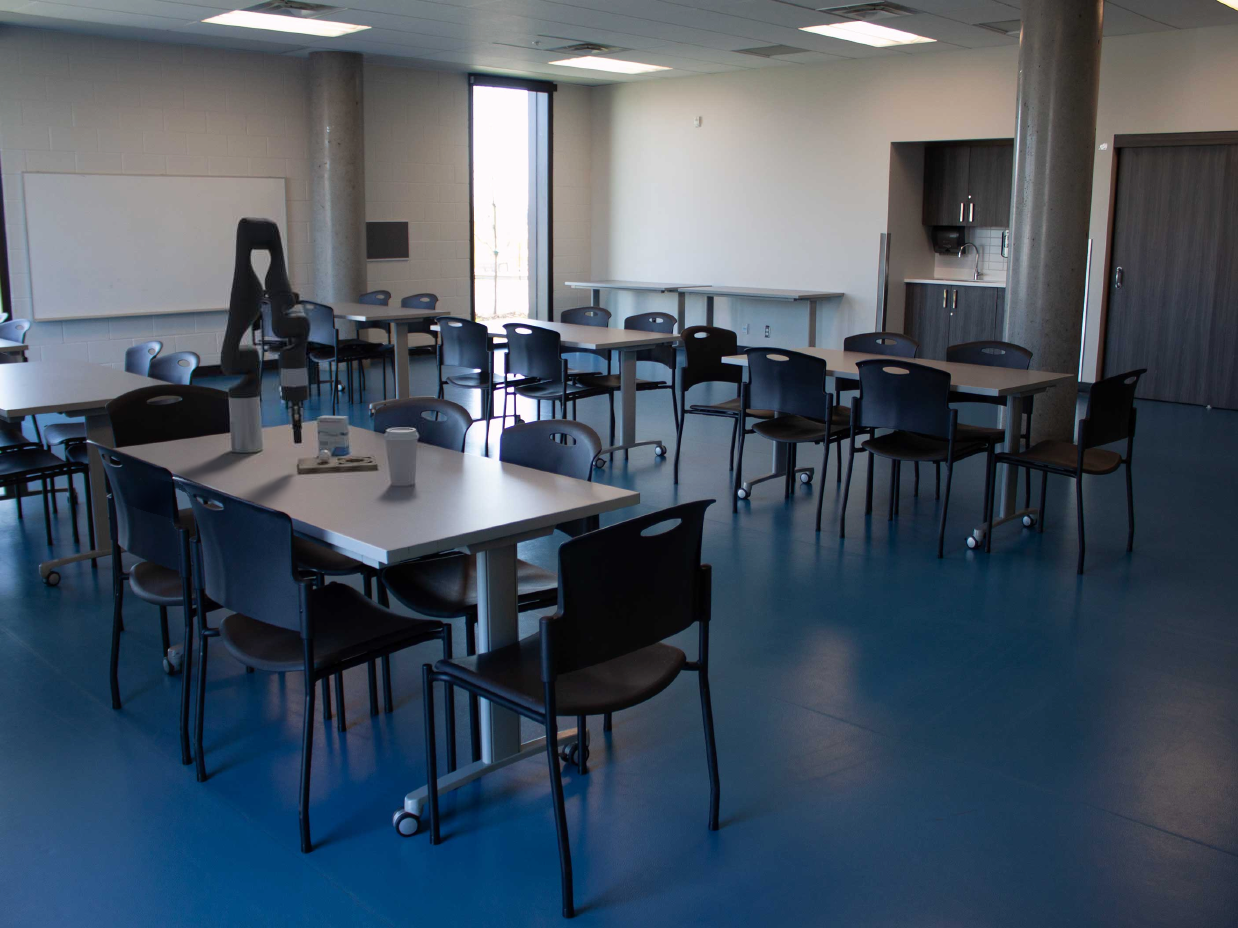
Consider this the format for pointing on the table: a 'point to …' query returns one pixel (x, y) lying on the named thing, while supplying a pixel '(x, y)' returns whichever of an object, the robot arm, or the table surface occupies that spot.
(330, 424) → the ink box
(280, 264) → the robot arm
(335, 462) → the wooden board
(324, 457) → the ball
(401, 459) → the coffee cup
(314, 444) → the table surface
